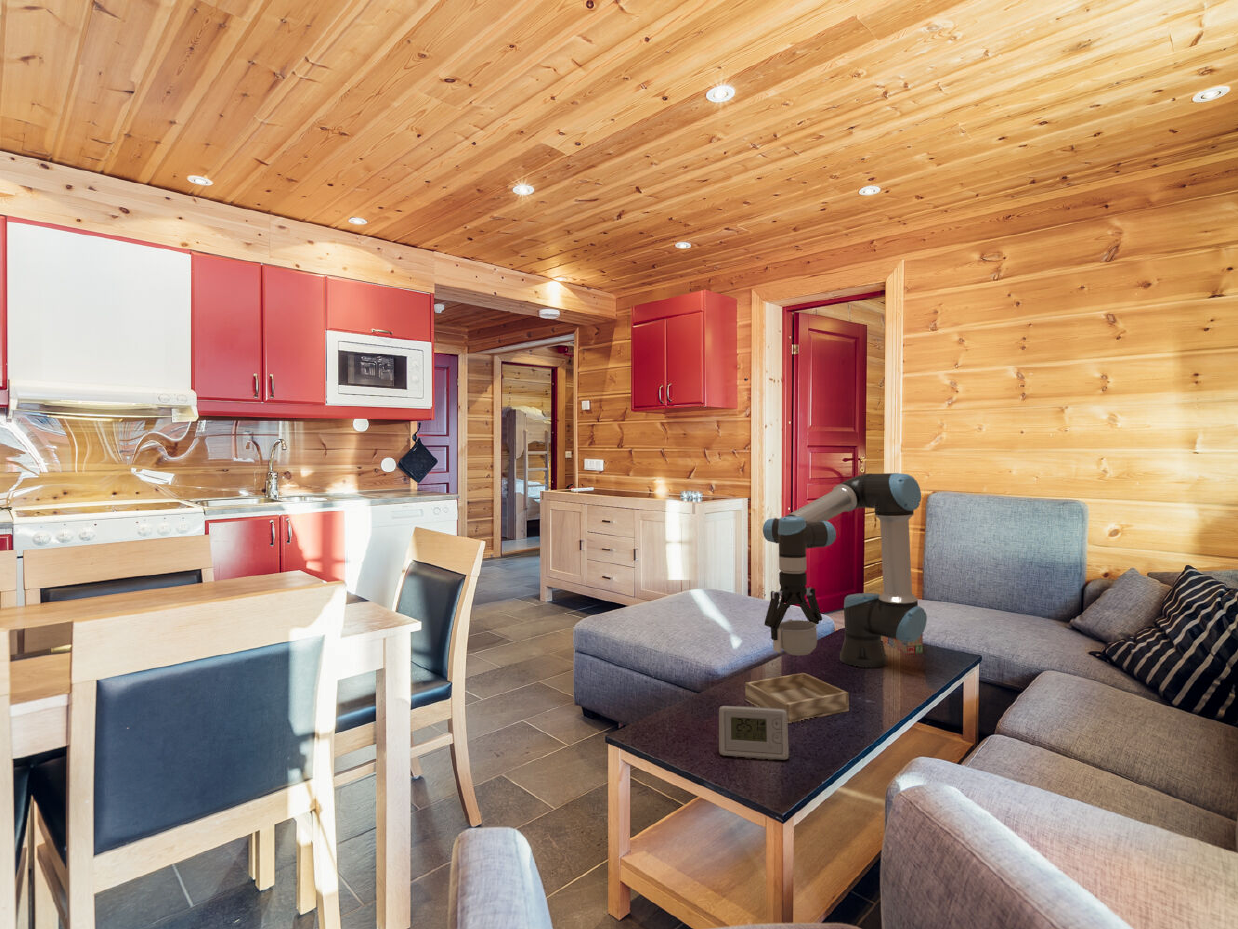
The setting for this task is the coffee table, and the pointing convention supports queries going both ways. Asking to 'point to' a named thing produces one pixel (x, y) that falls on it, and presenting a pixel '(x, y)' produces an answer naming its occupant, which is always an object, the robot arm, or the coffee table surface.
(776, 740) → the digital clock
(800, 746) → the coffee table surface
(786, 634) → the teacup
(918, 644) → the stack of blocks
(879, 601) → the robot arm
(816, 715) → the walled box
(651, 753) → the coffee table surface
